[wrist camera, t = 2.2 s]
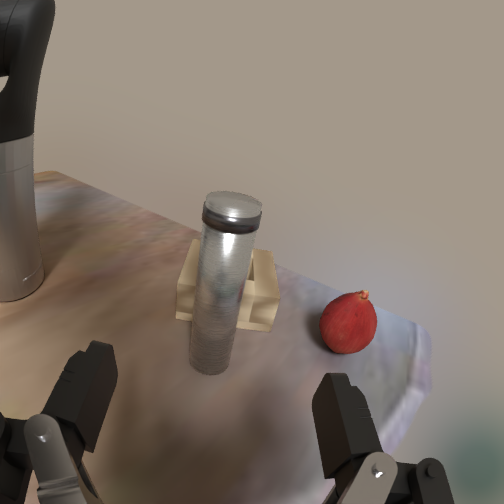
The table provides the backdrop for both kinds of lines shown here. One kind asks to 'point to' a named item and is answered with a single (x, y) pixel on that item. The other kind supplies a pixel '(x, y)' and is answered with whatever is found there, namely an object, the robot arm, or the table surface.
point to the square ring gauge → (254, 297)
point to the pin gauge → (221, 276)
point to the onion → (348, 323)
